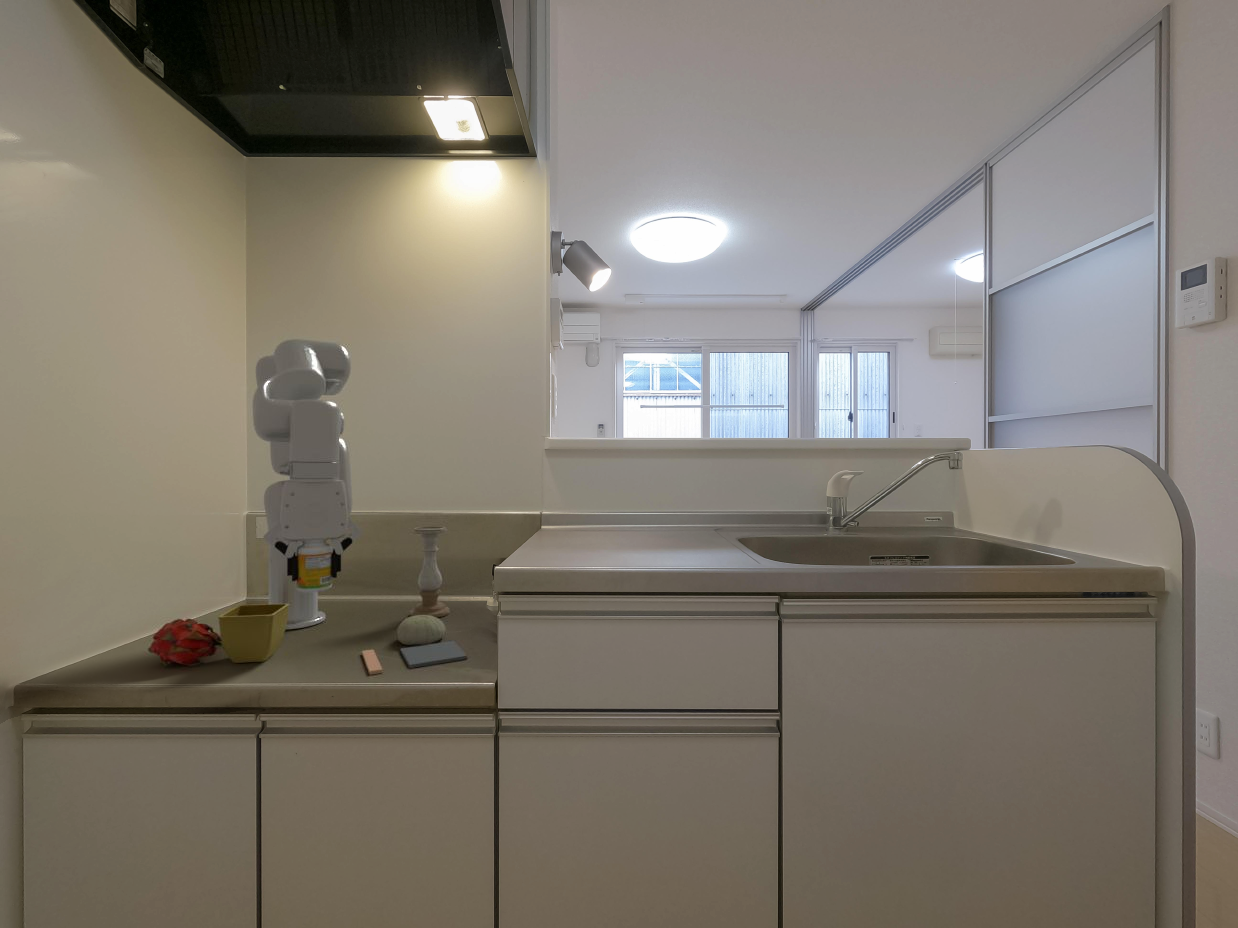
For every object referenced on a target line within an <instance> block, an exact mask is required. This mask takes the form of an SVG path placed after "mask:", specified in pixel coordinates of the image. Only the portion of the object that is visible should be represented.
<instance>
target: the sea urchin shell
mask: <svg viewBox="0 0 1238 928" xmlns="http://www.w3.org/2000/svg"><path fill="white" fill-rule="evenodd" d="M446 630H447V629H446V625H445V624H444V622H443V621H442V620H441V619H440V618H439V617H437V618H436V617H434V616H429V615H417V616H411V615H410V616H409V617H407V618H405V619H403V620H402V621H401V623H400V624H399V625H398V626H397V628H396V638H397V640H398V642H400V643H402V644H403V645H406V646H422V645H428V644H434V643H437V642H438V641H440V640H441V639H443V637H444V636H445V634H446Z"/></svg>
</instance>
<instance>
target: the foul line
mask: <svg viewBox="0 0 1238 928" xmlns="http://www.w3.org/2000/svg"><path fill="white" fill-rule="evenodd" d="M361 655H362V657H363V658H362V659H363V662H364V664H365V666H366V670H367V672H368V674H369V675H377V674H383V667H382V665H381V663H380V661H379V659H378V656H377V654H376V652H375V650H374V648H373V649H366V650H361Z"/></svg>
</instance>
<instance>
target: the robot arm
mask: <svg viewBox="0 0 1238 928" xmlns="http://www.w3.org/2000/svg"><path fill="white" fill-rule="evenodd" d="M351 370H352V362H351V356H350V354H349V351H348V350H347V349H346V347H344V346H343V345H341V344H339V343H336V342H328V341H320V340H311V339H310V340H309V339H301V338H300V339H299V338H297V339H296V338H292V339H287V340H284V341H282V342H280V343H279V344H278V345H277V346H276V348H275V350H274V353H273V354H271V355H266V356H263V357H261V358H259V360H258V361H257V362H256V365H255V378H256V379H255V380H256V386H257V388H256V389H255V391H254V394H253V398H252V420H253V427H254V431H255V433H256V435H257V437H259V438H260V439H261V440H263V441H264V442H265V441H266V442H269V443H270V445H269V449H270V453H269V454H270V461H271V462H270V463H271V466H272V467H271V468H272V469H273V471H274V472H275V473H276V474H277V475H281V476H286V477H287V476H288V477H289V480H288V479H287V480H286V479H285V480H280V481H277V482H274V483H271V484H269V486H268V487H267V488H266V489H265V491H264V494H263V505H264V511H265V517H266V524H267V531H266V533H264V535H263V537H262V538H263V540H264V541H265V542H266V543H267V544H268V604H289V608H288V615H287V622H286V628H285V631H286V630H294V629H295V630H296V629H301V628H302V629H303V628H307V627H313V626H314V625H318V624H321V623H323V622H324V621H325V620H326V613H325V612H324V611H321V610H319V609H318V606H319V605H318V602H319V601H318V600H319V598H318V593H319V591H317V592H301V591H298V590H297V548H298V547H299V546H301V545H303V542H302V541H308V540H326V539H328V540H330V542H331V545H332V547H333V548H332V579H337V578H338V573H340V572H342V554H343V553H344V551H346V550H347V549H348V548H349V547H350V546H351V545H353V543H354V541H356V540H357V539H359V538H360V537H361V536H362V535H363V531H362V529H361V528H360V527H359V526H358V525H357V524H356V523H355V522H353V520H351V518H349V517H350V516H351V514H352V510H353V490H352V474H351V473H352V472H351V461H350V450H349V448H348V447H349V446H348V444H347V443H346V441H345V439H343V438H342V437H340V436H341V435H343V433H344V427H345V420H344V418H345V417H344V416H345V415H344V413H343V412H341V410H340V407H339V406H338V404H337V403H335V402H334V401H330V400H327V399H326V400H323V399H320V398H321V397H322V396H336V395H338V394H339V393H341V391H342V390H343V388H344V387H345V385H346V383H347V382H348V381H349V378H350V375H351ZM349 530H350V531H351V533H349V534H348V531H349ZM347 534H348V535H347ZM345 536H346V537H345ZM342 538H343V539H342ZM340 539H342V541H340Z"/></svg>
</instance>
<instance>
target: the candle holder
mask: <svg viewBox="0 0 1238 928" xmlns="http://www.w3.org/2000/svg"><path fill="white" fill-rule="evenodd" d="M447 531H448V529H447V527H446V526H433V525H432V526H431V525H430V526H420V527H419V526H417V527H414V528H413V529H412V533H413V534H417V535H420V539H421V540H422V542H423V547H422V548H421V552H422V553H423V565H422V568H421V571H420V573H419V576H418V578H417V584H418V587H420V588H421V591H419V593H418V594H419V596H421V602H420V603H418V604H416V605H414V606H415V607H414V608H413V609H411V610H410V612H409V613H410V614H409V615H410V617H411V616H417V615H429V616H434V617H436V618H441V617H444V616H447V615H448V614H449V613H450V608H449V607H448V606H446V604H445V603H444V602H440V601H439V600H438V599H439V597H440V594H441V592H442V591H441V590H440V589H439V587H440V586H441V584H442V583H443V576H442V574H441V571H440V570H439V567H438V563H437V552H439V548H438V546H437V542H438V540H439V539H440V534H443V533H447Z"/></svg>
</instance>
